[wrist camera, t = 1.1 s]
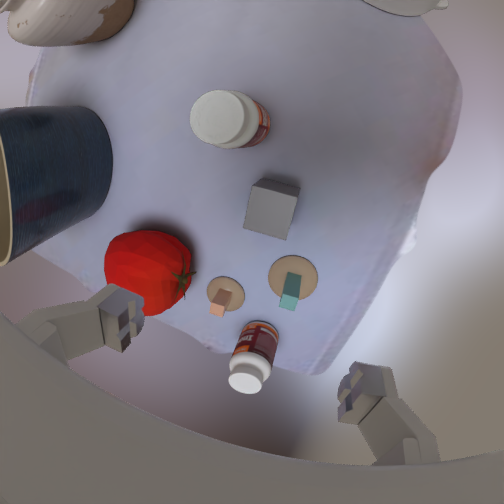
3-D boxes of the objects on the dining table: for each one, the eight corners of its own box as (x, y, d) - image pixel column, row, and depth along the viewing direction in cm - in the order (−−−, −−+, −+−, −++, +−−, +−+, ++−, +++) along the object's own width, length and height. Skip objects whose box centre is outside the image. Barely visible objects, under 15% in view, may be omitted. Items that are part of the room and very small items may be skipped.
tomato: (140, 251, 46) (208, 265, 45) (113, 314, 40) (185, 337, 38) (113, 204, 36) (194, 215, 34) (72, 279, 29) (157, 307, 27)
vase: (155, 25, 27) (40, -21, 7) (83, 71, 32) (-26, 68, 11) (146, -32, 22) (60, -79, 1) (80, 12, 26) (-10, -5, 6)
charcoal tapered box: (262, 178, 34) (252, 185, 28) (300, 188, 33) (297, 197, 28) (253, 214, 36) (242, 228, 31) (290, 224, 35) (285, 240, 30)
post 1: (210, 271, 41) (199, 286, 37) (248, 283, 40) (240, 299, 36) (205, 302, 44) (195, 318, 39) (240, 314, 43) (233, 331, 39)
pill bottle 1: (281, 124, 31) (266, 115, 20) (246, 156, 33) (216, 164, 23) (246, 91, 30) (217, 71, 20) (213, 124, 32) (172, 120, 22)
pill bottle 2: (253, 313, 42) (235, 362, 32) (286, 332, 42) (276, 383, 33) (236, 336, 45) (216, 383, 35) (266, 353, 45) (253, 402, 35)
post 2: (275, 249, 37) (268, 270, 32) (324, 263, 37) (325, 286, 31) (263, 291, 40) (255, 316, 35) (308, 304, 40) (306, 331, 34)
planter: (129, 113, 34) (17, 117, 16) (106, 238, 43) (22, 293, 25) (52, 99, 35) (-32, 108, 17) (39, 200, 44) (-32, 233, 26)
